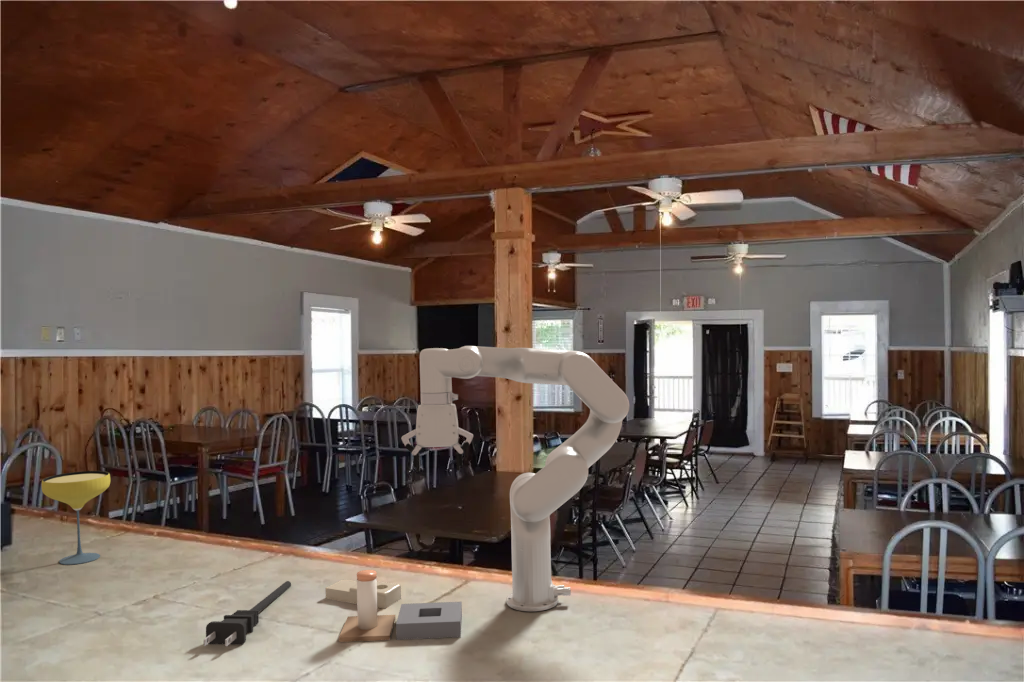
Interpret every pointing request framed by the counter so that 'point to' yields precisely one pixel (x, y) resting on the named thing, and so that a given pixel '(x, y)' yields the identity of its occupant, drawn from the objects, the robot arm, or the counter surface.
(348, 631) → the board
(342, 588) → the electrical outlet
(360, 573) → the plug
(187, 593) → the counter surface
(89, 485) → the cocktail glass
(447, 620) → the socket block
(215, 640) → the electrical plug
